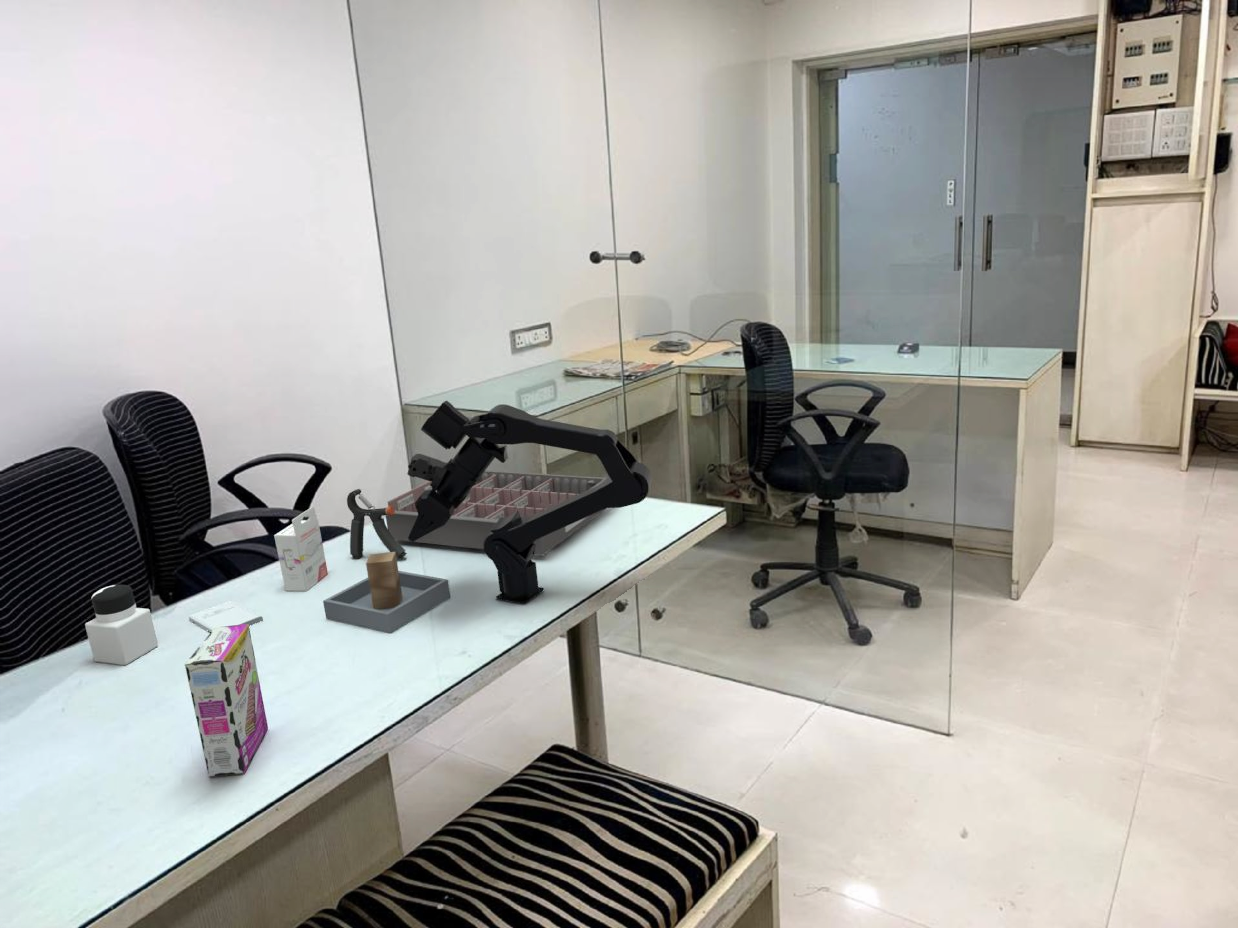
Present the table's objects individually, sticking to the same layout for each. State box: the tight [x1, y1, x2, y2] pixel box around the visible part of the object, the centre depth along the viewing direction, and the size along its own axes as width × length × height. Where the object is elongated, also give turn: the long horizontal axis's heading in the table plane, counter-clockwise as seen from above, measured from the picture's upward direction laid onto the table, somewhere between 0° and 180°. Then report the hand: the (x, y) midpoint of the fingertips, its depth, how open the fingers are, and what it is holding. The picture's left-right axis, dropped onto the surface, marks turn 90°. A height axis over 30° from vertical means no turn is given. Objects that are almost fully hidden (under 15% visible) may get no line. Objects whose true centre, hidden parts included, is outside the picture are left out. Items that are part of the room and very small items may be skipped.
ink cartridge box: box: [273, 506, 329, 592], centre depth 179 cm, size 9×5×15 cm, turn 168°
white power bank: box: [188, 600, 264, 633], centre depth 166 cm, size 2×8×12 cm
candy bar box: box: [184, 624, 269, 778], centre depth 121 cm, size 11×5×16 cm, turn 5°
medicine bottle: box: [84, 584, 159, 666], centre depth 154 cm, size 7×7×12 cm
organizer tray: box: [385, 469, 608, 556], centre depth 202 cm, size 32×40×10 cm
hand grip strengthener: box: [346, 488, 408, 560], centre depth 188 cm, size 2×12×15 cm, turn 73°
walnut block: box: [365, 551, 403, 610], centre depth 164 cm, size 4×4×9 cm
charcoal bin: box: [322, 570, 451, 634], centre depth 165 cm, size 16×16×4 cm
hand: (416, 532), depth 163 cm, fingers open, 9 cm apart
